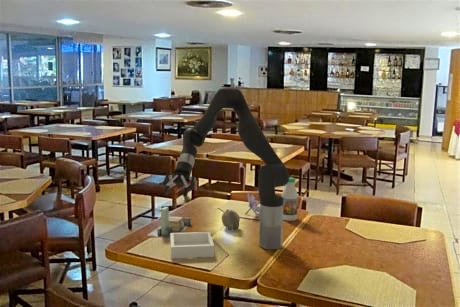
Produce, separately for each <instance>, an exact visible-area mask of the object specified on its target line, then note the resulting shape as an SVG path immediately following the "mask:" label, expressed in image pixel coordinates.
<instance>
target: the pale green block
mask: <svg viewBox="0 0 460 307" xmlns="http://www.w3.org/2000/svg"><path fill="white" fill-rule="evenodd" d="M169 211H170V210H169V206H164V207H162V208H161V209H160V223H161V224H160V226H161V234H162V235H165V229H166V228H168V227H169V216H170V215H169Z"/></svg>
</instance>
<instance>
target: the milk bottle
mask: <svg viewBox="0 0 460 307" xmlns="http://www.w3.org/2000/svg"><path fill="white" fill-rule="evenodd" d="M295 183H296V178H295V177H291V176H289V181H288V183H287V184H286V185H284V188H283V190H282V192H281V196H282V197H283V221H286V222H293V221H297V218H298V207H299V206H298V201H299V197H298V196H299V195H298V191H297V189H296V185H295Z"/></svg>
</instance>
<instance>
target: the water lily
mask: <svg viewBox="0 0 460 307" xmlns="http://www.w3.org/2000/svg"><path fill="white" fill-rule="evenodd" d="M255 198H256V197H255V196H254V194H251V196H250V194H249V193H247V203H248V207H249V209H247V211H246V212H245V213H244V215H247V214H248V213H249V211H251V210H252V212H253V213H254V215H255V216H257V217H258V218H259V219H260V200H258V199H255Z"/></svg>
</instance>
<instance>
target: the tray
mask: <svg viewBox="0 0 460 307" xmlns="http://www.w3.org/2000/svg"><path fill="white" fill-rule="evenodd" d="M169 240H170V241H169V242H170V258H171V260H175V259H195V258H196V259H197V257H202V258H215V244H214V241H213V238H212V234H211V232H210V231H196V232H193V231H192V232H191V231H189V232H181V233H170V238H169Z"/></svg>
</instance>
